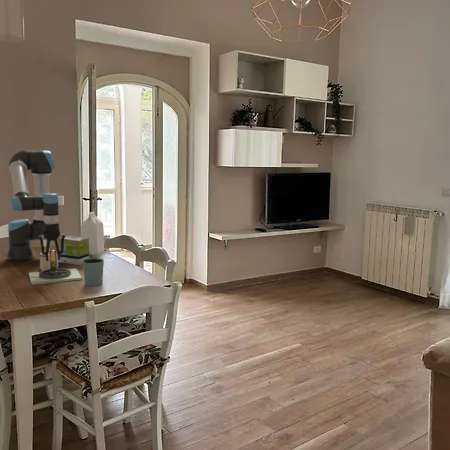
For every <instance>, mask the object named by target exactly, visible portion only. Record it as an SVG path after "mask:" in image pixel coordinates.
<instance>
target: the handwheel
mask: <svg viewBox="0 0 450 450" xmlns="http://www.w3.org/2000/svg"><path fill="white" fill-rule="evenodd" d="M49 253H50V269H48V270H43V271H42V270H40V271H38V272H39V276H40V277H42V278H62V277H66V276H69V275H70V274H71V271H70V270H68V269H69V268H58V267H56V253H57V250H56V249H50V251H49ZM47 272H48V273H47ZM60 274H62V275H60Z"/></svg>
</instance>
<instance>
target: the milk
mask: <svg viewBox="0 0 450 450" xmlns="http://www.w3.org/2000/svg"><path fill="white" fill-rule="evenodd" d="M104 230H105V229H104V223H103V221H102V220H100V219H99V218H98V217H97V215H96V212H95V211H91V212H88V217H87V218H86V219H85V220H84V221H83V222H82V223H81V225H80V237H84V238H89V254H91V255H93V256H98V255H100V254H102V253H104V252H105V251H106V247H105V248H104V244H105V233H104ZM104 250H105V251H104ZM103 251H104V252H103ZM91 255H90V256H91Z"/></svg>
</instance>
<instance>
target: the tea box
mask: <svg viewBox="0 0 450 450" xmlns="http://www.w3.org/2000/svg"><path fill="white" fill-rule="evenodd" d="M57 242H58V247H59V251H61V237H58V239H57ZM85 259H90V255H89V238H84V237H81V236H74V235H67V236H66V235H65V238H64V251H63V253H61V254H60V260H58V263H63V264H68V265H75V266H81V265H83V260H85Z"/></svg>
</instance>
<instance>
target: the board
mask: <svg viewBox="0 0 450 450" xmlns="http://www.w3.org/2000/svg"><path fill="white" fill-rule="evenodd" d="M67 269H68V270H70V271H71V274H70V275H69V276H66V277H62V278H42V277H40V276H39V272H40V271H34V272H33V271H32V272H31V271H30V272H28V277H29V280H30V283H31V285H41V284H42V285H44V284H52V283H63V282H74V281H81V280H83V277H82V275H81V274H80V272H79V270H78V269H77V268H67ZM47 273H48V272H47ZM60 275H62V274H60Z"/></svg>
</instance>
